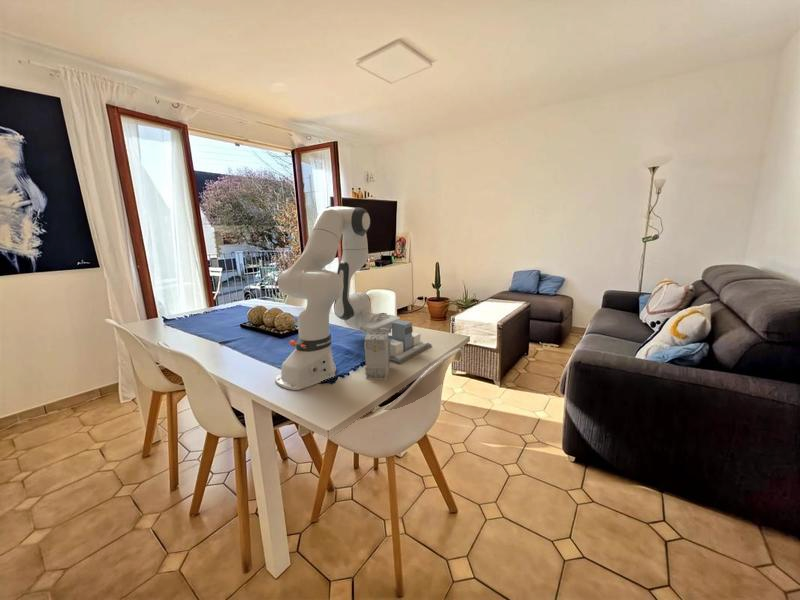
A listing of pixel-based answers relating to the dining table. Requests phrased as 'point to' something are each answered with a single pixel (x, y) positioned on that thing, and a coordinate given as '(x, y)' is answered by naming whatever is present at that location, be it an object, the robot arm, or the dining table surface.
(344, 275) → the robot arm
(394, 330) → the block
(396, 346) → the rail plate
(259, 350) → the dining table surface
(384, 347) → the circuit breaker
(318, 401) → the dining table surface
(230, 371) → the dining table surface
